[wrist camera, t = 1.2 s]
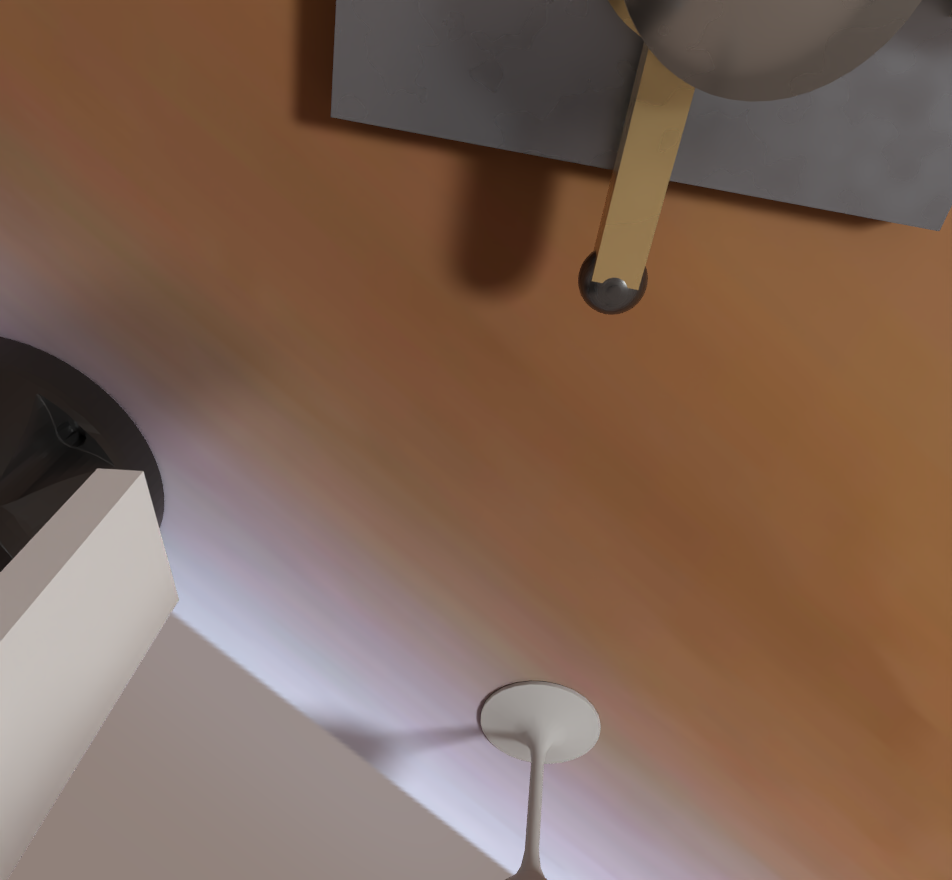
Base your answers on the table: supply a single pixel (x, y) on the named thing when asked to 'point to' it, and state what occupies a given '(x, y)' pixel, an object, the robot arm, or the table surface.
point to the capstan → (720, 74)
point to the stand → (609, 91)
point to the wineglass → (539, 742)
